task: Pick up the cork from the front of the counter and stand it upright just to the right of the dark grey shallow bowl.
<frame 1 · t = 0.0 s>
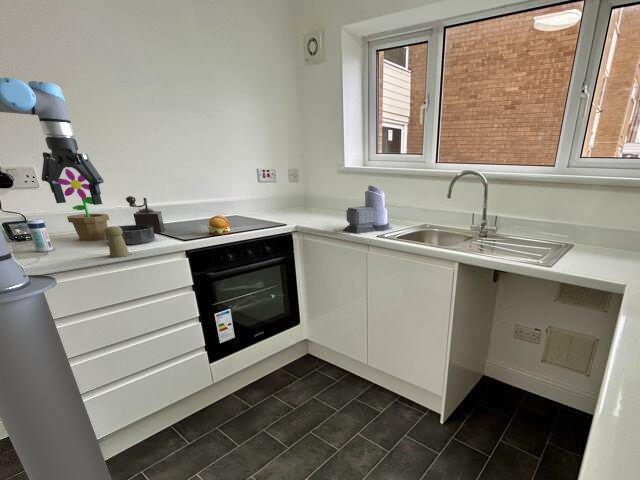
hand: (79, 203, 122), 20 cm above the countertop, tool pointing down, fingers open, 13 cm apart
white cylindrical container: (45, 251, 137), on the countertop
dark grey shallow bowl: (132, 241, 157), on the countertop
brown coffee grinder: (150, 232, 178), on the countertop
cork: (120, 256, 134), on the countertop
flowerpot: (94, 239, 160), on the countertop
cheeseburger: (220, 233, 179), on the countertop
juicer: (369, 229, 205), on the countertop
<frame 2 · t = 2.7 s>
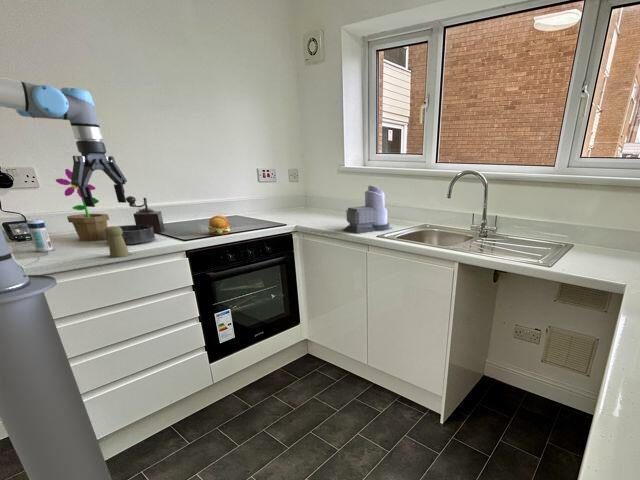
hand: (107, 204, 128), 19 cm above the countertop, tool pointing down, fingers open, 13 cm apart
nothing on the countertop moved.
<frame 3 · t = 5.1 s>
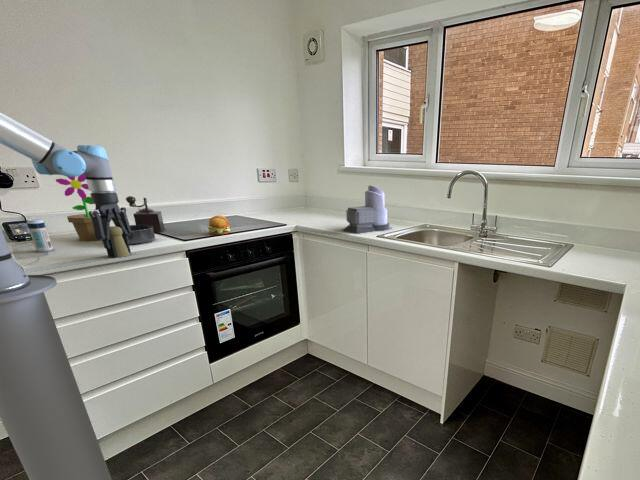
hand: (119, 254, 134), 0 cm above the countertop, tool pointing down, fingers closed on cork, 6 cm apart
cork: (120, 256, 134), on the countertop, touching gripper
everything else where it was.
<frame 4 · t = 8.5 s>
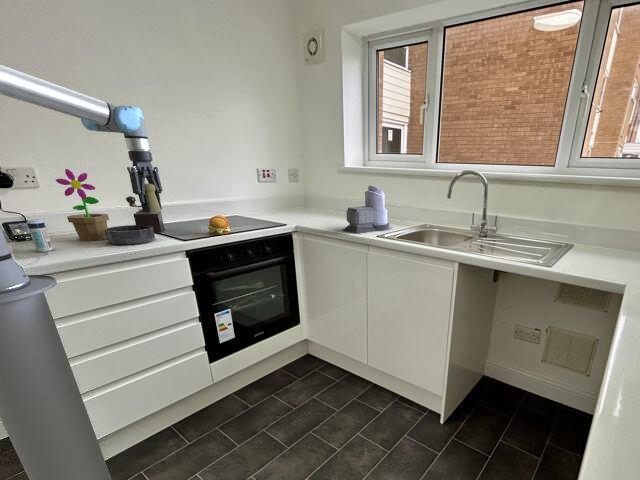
hand: (152, 210, 147), 15 cm above the countertop, tool pointing down, fingers closed on cork, 6 cm apart
cork: (152, 211, 147), point 14 cm above the countertop, touching gripper
everything else where it was.
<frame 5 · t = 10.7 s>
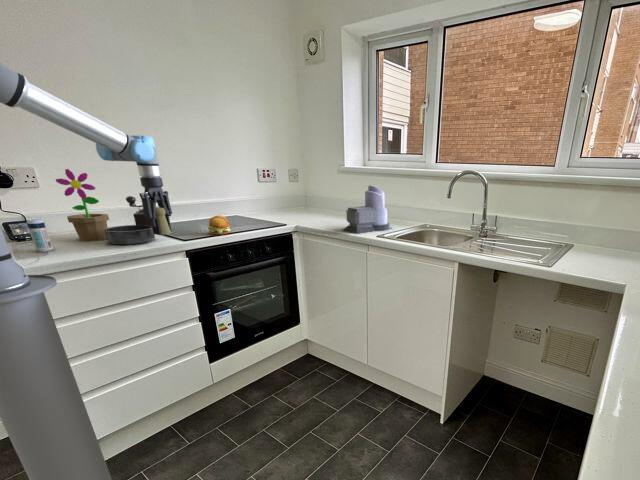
hand: (162, 232, 153), 5 cm above the countertop, tool pointing down, fingers closed on cork, 6 cm apart
cork: (163, 233, 153), point 4 cm above the countertop, touching gripper
everything else where it was.
when the fingers open (0 cm above the countertop, at t = 12.2 s): cork stays where it is, on the countertop.
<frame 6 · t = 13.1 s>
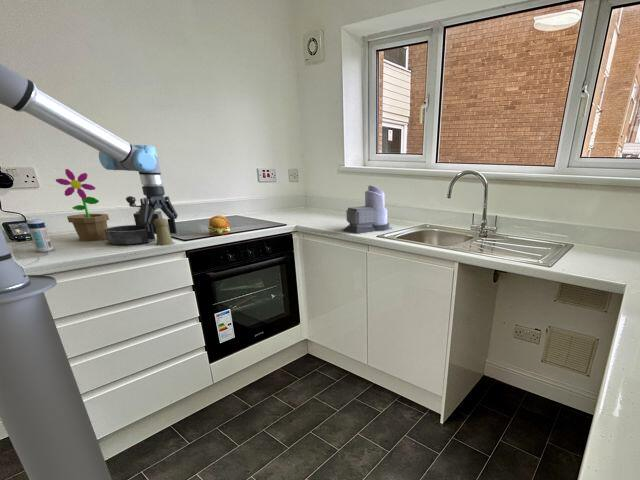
hand: (163, 236, 153), 3 cm above the countertop, tool pointing down, fingers open, 13 cm apart
cork: (165, 244, 155), on the countertop
everything else where it was.
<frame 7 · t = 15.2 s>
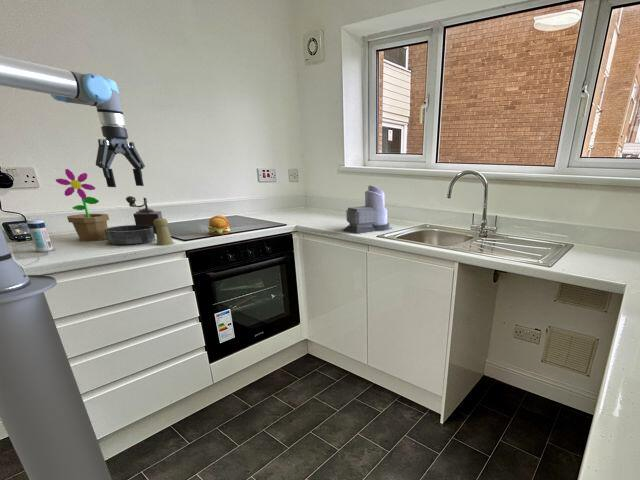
hand: (126, 186, 137), 25 cm above the countertop, tool pointing down, fingers open, 13 cm apart
nothing on the countertop moved.
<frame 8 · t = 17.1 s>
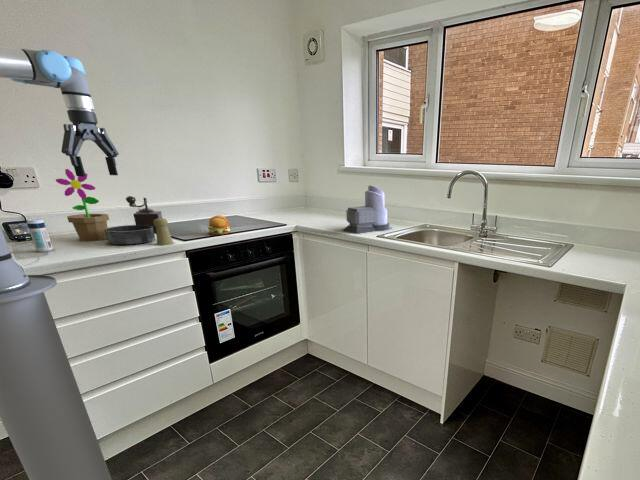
hand: (98, 175, 128), 29 cm above the countertop, tool pointing down, fingers open, 13 cm apart
nothing on the countertop moved.
at the end: cork inside the target area on the countertop beside the dark grey shallow bowl (0.7 cm from its centre), on the countertop; cork tilted 0°; the gripper is holding nothing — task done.
